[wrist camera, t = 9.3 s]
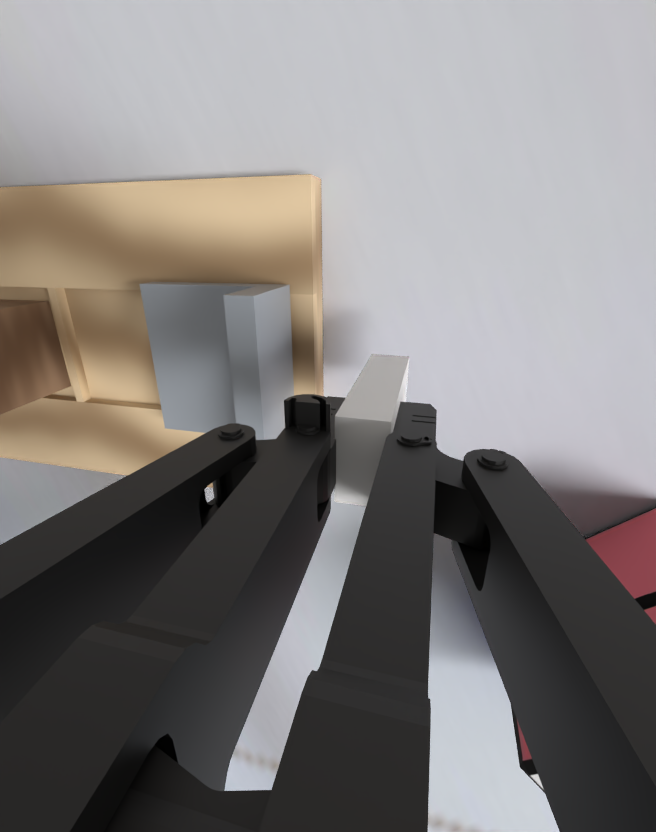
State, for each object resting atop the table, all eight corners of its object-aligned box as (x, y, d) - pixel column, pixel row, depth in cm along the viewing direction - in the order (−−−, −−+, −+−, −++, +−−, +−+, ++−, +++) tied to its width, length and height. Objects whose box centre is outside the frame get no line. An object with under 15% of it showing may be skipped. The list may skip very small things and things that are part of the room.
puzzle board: (324, 487, 25) (317, 502, 23) (-8, 442, 30) (-30, 452, 29) (320, 179, 18) (310, 174, 17) (-97, 195, 24) (-131, 192, 23)
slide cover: (295, 433, 22) (266, 472, 18) (175, 421, 23) (127, 454, 20) (289, 284, 19) (253, 295, 15) (152, 281, 20) (90, 291, 17)
